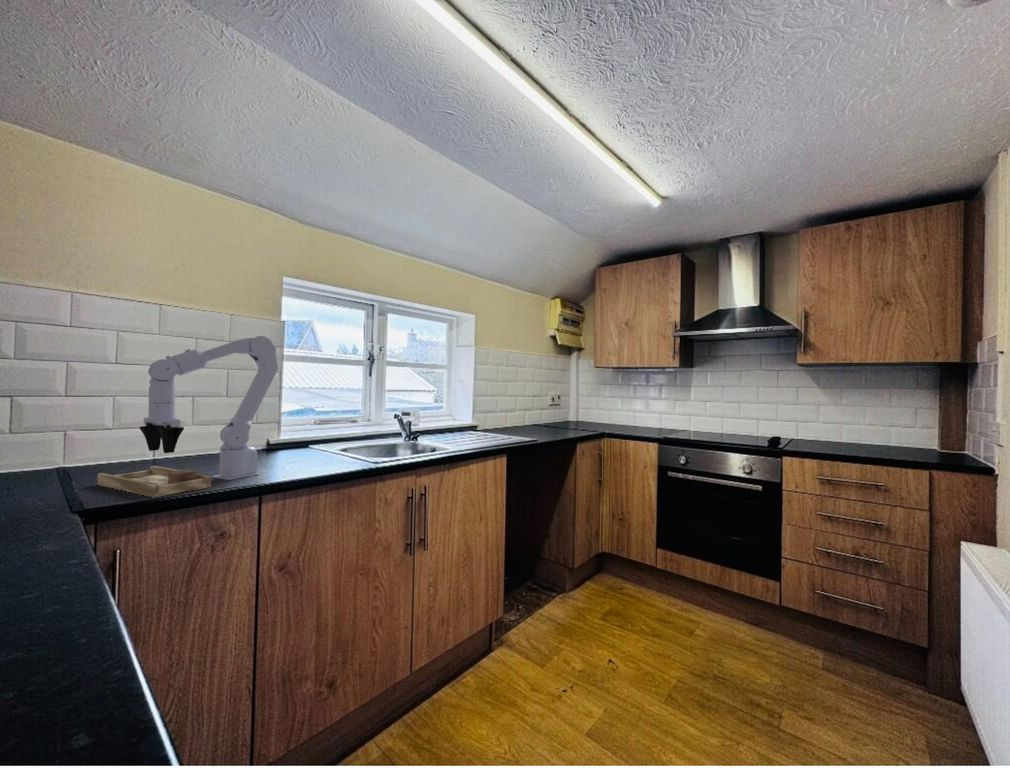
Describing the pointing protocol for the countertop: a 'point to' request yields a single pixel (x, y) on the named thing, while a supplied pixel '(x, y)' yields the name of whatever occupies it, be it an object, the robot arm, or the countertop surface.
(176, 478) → the block
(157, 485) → the tray
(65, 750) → the countertop surface
